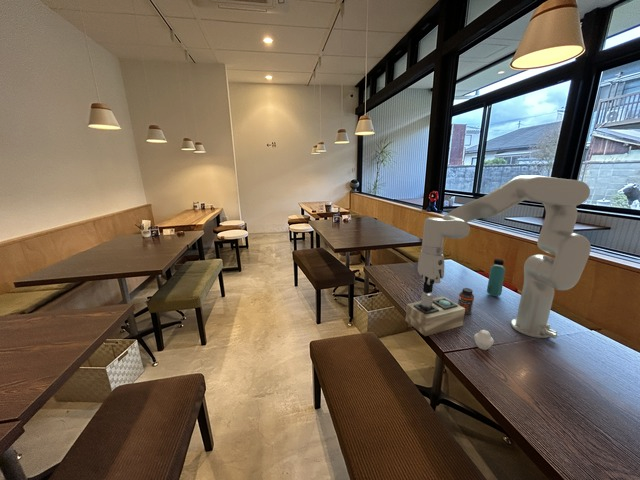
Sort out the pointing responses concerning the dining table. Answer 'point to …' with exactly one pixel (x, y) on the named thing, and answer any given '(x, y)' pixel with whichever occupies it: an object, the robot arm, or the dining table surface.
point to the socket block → (435, 316)
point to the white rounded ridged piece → (483, 339)
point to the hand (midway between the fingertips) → (427, 292)
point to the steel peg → (426, 301)
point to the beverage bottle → (496, 278)
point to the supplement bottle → (466, 300)
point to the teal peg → (444, 303)
